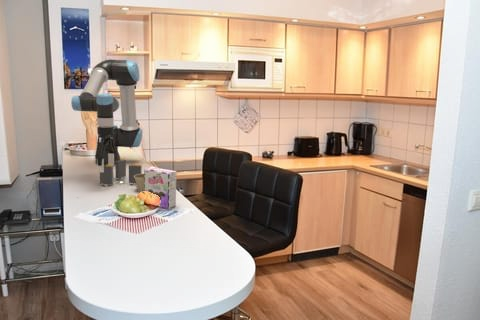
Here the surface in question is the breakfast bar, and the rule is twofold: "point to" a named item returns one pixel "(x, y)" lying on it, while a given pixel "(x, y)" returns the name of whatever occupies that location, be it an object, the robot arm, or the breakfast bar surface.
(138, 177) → the flower pot
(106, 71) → the robot arm
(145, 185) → the candy box
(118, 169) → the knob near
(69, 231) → the breakfast bar surface
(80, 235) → the breakfast bar surface
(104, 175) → the dark grey upright block
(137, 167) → the grey thin slab
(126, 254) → the breakfast bar surface
